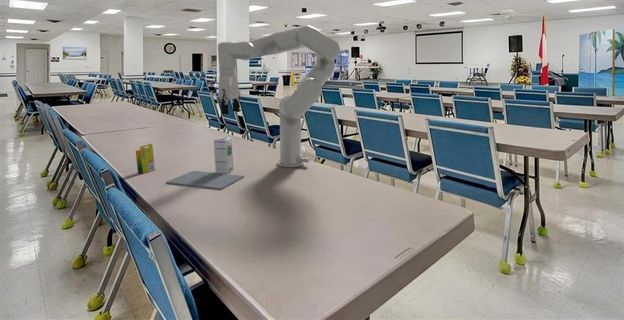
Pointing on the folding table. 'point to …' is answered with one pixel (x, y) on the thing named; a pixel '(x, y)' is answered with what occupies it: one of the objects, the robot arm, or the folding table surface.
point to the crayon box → (145, 159)
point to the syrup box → (223, 155)
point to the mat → (205, 180)
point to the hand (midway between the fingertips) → (230, 112)
